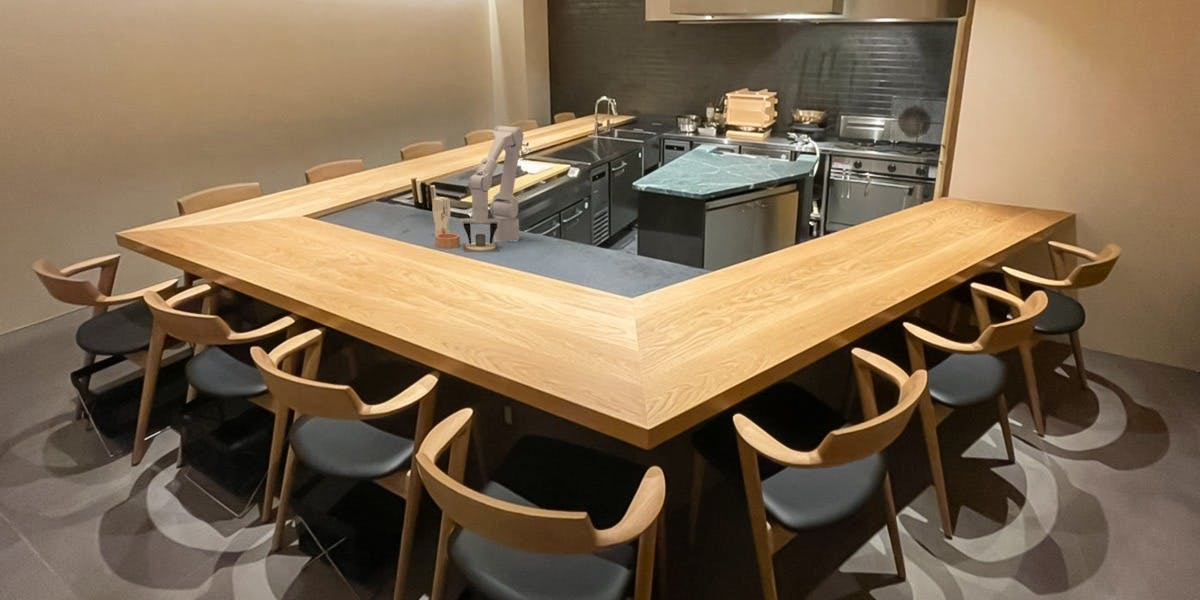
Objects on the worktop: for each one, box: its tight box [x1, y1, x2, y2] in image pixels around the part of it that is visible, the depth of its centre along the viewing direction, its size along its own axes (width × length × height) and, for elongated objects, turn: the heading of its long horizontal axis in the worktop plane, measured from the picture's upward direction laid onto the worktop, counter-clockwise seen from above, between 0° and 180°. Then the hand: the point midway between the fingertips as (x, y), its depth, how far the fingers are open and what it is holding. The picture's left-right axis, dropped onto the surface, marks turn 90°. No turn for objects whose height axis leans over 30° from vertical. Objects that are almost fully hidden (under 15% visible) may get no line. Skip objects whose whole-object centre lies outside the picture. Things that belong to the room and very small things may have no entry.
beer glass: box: [431, 196, 451, 237], centre depth 267 cm, size 7×7×15 cm
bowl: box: [435, 232, 461, 249], centre depth 252 cm, size 9×9×4 cm
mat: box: [462, 242, 500, 253], centre depth 252 cm, size 13×13×1 cm
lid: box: [466, 233, 495, 251], centre depth 251 cm, size 11×11×5 cm
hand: (480, 243), depth 251 cm, fingers open, 7 cm apart
